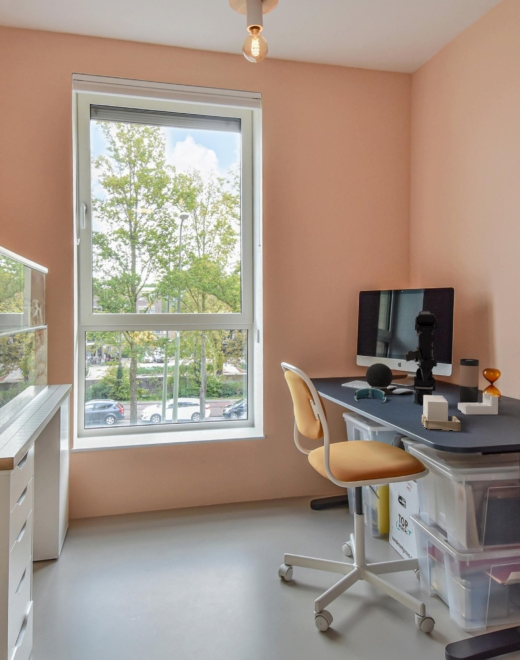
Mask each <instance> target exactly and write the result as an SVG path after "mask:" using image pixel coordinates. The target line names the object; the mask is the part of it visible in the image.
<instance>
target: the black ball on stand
mask: <svg viewBox="0 0 520 660" xmlns="http://www.w3.org/2000/svg"><path fill="white" fill-rule="evenodd" d="M393 375H394V374H393V371H392V370H391V368H390V367H389V366H388V365H386V364H384V363H380V362H379V363H378V362H376V363H373V364H372V365H370V366H369V367H368V368H367V370H366V372H365V380H366V382H367V384H368V385H369V386H370V388H375V389H379V390H381V391H383V392H385V394H389V395H391V390H390V389H389V388H388V387H389V386H391V384H392V382H393V379H394V377H393Z"/></svg>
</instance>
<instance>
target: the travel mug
mask: <svg viewBox="0 0 520 660" xmlns="http://www.w3.org/2000/svg"><path fill="white" fill-rule="evenodd" d="M459 360H460V361H459V383H458V384H459V386H458V387H459V403H479V401H478V399H479V383H480V382H479V380H480V378H479V376H480V374H479V373H480V372H479V371H480V366H479V365H480V361H479V359H476V358H460V359H459Z"/></svg>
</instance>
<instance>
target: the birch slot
mask: <svg viewBox="0 0 520 660" xmlns="http://www.w3.org/2000/svg"><path fill="white" fill-rule="evenodd" d="M461 423H462V422H461V421H460V420H459V419H458V418H457V416H455V415H452V416H451V421H450V420H448V421H434V420H428V419H427V418H426V416H425V415H423V414H421V424H422V426H423V425H424V426H423V427H425V428H427V429H426V430H430V429H442V430H441V431H449V430H453V431H452V432H461V429H462V427H461V425H462V424H461ZM425 428H424V429H425Z"/></svg>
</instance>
